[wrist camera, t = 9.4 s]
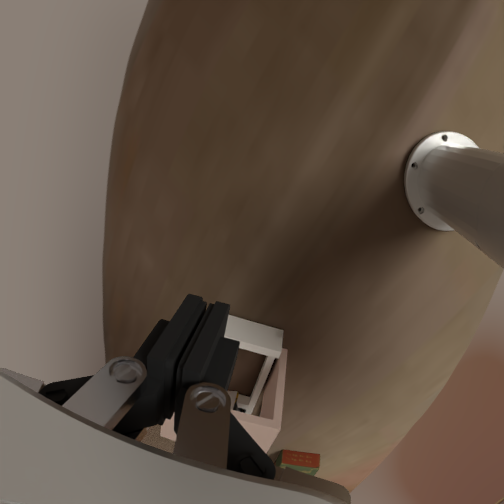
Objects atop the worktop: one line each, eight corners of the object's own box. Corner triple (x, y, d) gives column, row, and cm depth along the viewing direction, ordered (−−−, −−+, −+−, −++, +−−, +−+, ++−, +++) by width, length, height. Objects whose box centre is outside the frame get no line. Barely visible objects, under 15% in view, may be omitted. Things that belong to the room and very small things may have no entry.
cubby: (287, 349, 46) (280, 429, 32) (270, 388, 50) (259, 464, 35) (199, 323, 46) (164, 396, 32) (191, 365, 50) (160, 435, 36)
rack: (283, 330, 45) (281, 352, 40) (241, 431, 55) (237, 451, 50) (213, 310, 45) (204, 330, 40) (190, 416, 55) (183, 435, 50)
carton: (264, 478, 62) (261, 493, 58) (282, 447, 56) (280, 463, 52) (297, 484, 62) (296, 498, 58) (320, 453, 56) (320, 469, 52)
